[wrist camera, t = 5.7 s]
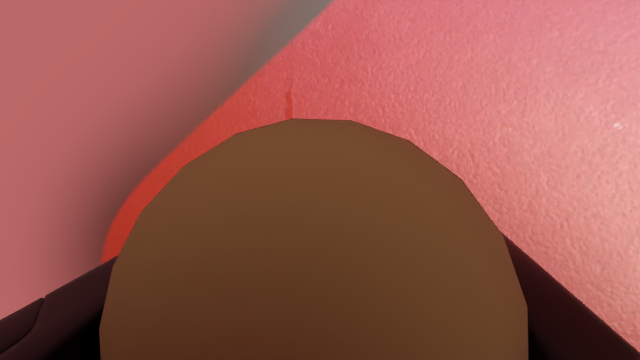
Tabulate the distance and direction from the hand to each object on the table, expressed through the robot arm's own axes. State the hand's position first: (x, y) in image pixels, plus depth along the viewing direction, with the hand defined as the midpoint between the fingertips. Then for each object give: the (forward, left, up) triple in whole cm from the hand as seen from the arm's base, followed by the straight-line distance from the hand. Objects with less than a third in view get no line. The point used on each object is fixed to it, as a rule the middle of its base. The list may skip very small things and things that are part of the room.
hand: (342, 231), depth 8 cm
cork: (-1, -1, -7) cm, 7 cm away
